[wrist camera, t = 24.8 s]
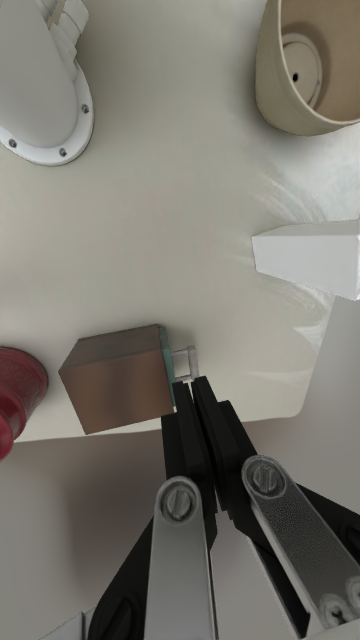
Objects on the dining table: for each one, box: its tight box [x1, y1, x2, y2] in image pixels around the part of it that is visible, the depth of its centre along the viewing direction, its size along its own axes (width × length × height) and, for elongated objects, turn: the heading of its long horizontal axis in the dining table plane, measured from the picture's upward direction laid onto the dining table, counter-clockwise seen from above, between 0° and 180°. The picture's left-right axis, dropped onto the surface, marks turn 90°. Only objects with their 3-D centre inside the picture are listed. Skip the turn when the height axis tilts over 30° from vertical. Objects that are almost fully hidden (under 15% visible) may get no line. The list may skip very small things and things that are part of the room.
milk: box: [251, 219, 360, 300], centre depth 26 cm, size 6×6×22 cm
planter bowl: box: [255, 0, 360, 136], centre depth 23 cm, size 16×16×11 cm
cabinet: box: [58, 324, 174, 435], centre depth 35 cm, size 14×12×10 cm
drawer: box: [158, 328, 199, 407], centre depth 35 cm, size 17×10×8 cm, turn 98°
